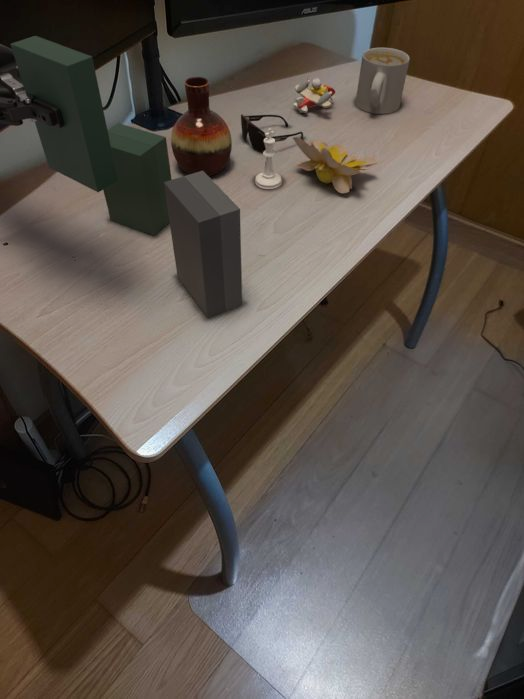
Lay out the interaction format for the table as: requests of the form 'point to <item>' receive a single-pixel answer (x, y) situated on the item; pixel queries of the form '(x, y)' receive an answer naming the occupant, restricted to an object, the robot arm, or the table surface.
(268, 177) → the chess piece
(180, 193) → the grey faceted block
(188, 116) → the vase
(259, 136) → the sunglasses
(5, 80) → the robot arm
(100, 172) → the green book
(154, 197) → the green rectangular block
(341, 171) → the decorative flower
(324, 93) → the toy airplane
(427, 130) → the table surface
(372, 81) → the coffee mug
